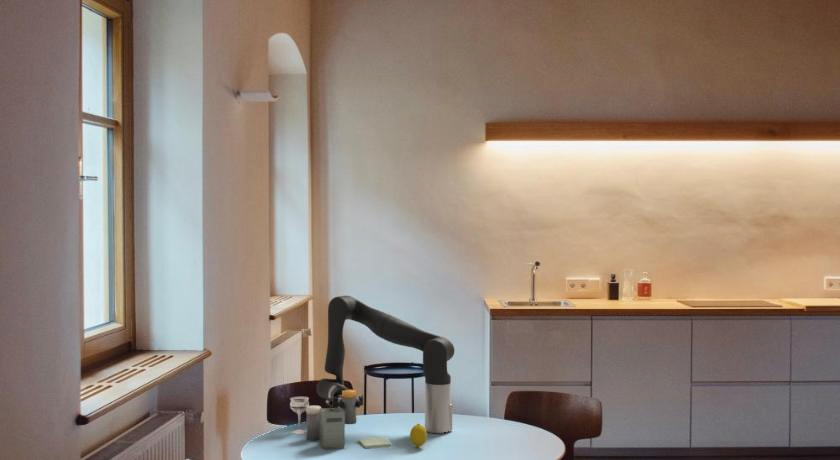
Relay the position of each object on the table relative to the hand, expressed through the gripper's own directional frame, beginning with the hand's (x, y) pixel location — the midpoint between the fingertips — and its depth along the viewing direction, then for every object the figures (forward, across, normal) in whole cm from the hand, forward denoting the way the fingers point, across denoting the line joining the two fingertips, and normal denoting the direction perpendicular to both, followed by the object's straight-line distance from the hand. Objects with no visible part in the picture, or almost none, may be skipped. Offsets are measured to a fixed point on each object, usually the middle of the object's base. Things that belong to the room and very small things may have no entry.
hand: (351, 405), depth 269 cm
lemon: (+17, +19, +12) cm, 28 cm away
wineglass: (-15, -15, +12) cm, 24 cm away
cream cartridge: (-4, -12, +12) cm, 17 cm away
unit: (+7, -8, +12) cm, 16 cm away
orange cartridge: (-3, 0, +6) cm, 7 cm away
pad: (+8, +6, +12) cm, 16 cm away
